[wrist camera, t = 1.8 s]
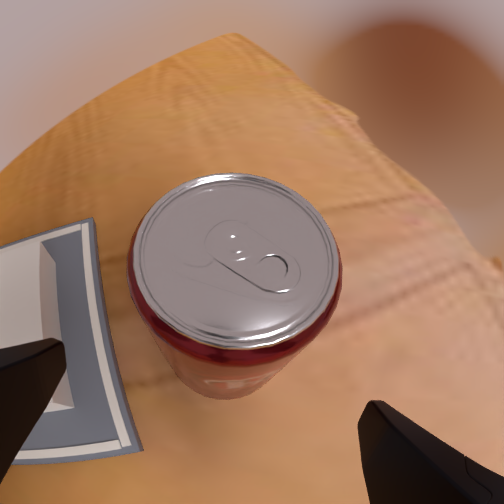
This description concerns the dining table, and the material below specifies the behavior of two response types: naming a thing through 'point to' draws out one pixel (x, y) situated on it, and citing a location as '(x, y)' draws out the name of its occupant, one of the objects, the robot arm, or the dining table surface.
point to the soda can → (233, 280)
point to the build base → (67, 344)
